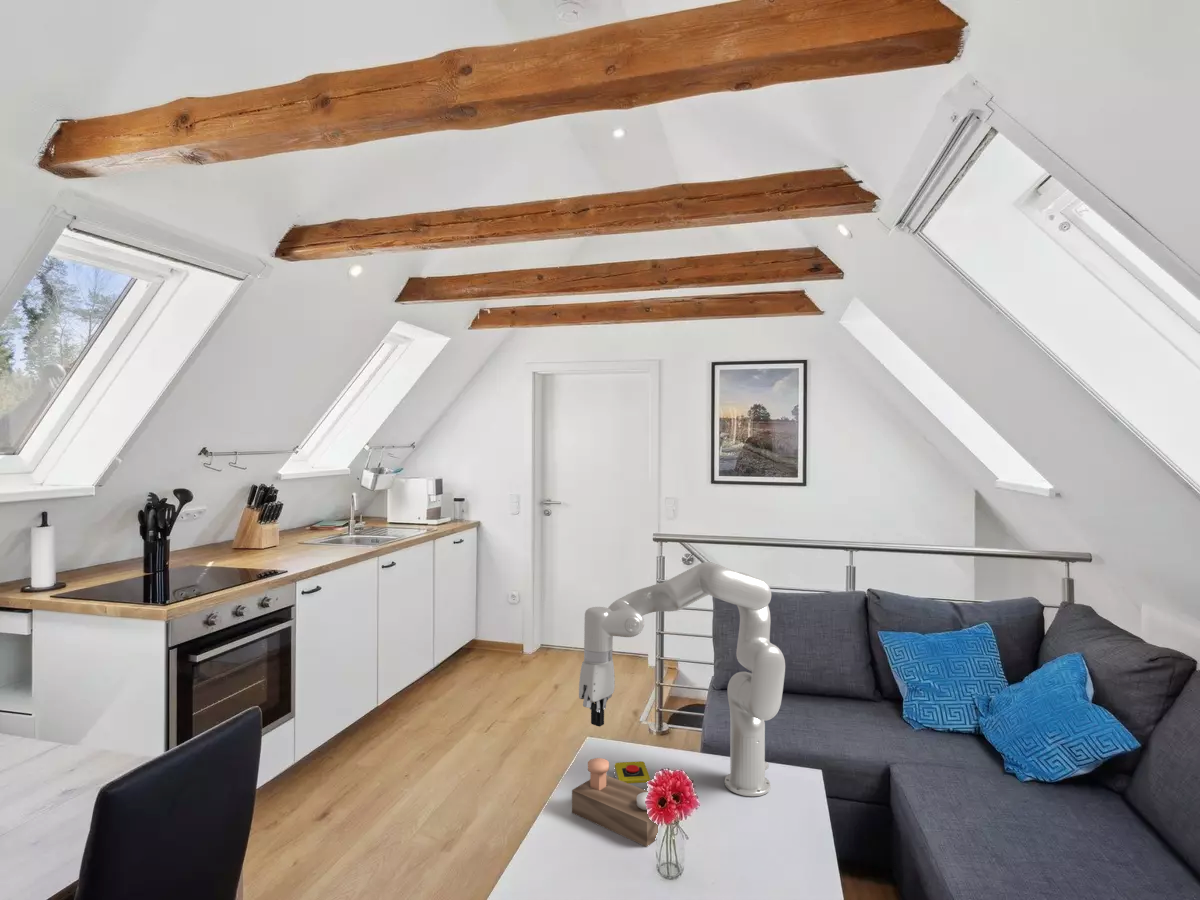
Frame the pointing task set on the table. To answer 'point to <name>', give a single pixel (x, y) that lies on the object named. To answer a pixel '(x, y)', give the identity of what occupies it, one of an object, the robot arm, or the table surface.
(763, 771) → the robot arm
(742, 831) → the table surface
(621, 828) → the press console
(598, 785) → the peach round knob
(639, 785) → the emergency button
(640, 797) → the white glossy ovoid
